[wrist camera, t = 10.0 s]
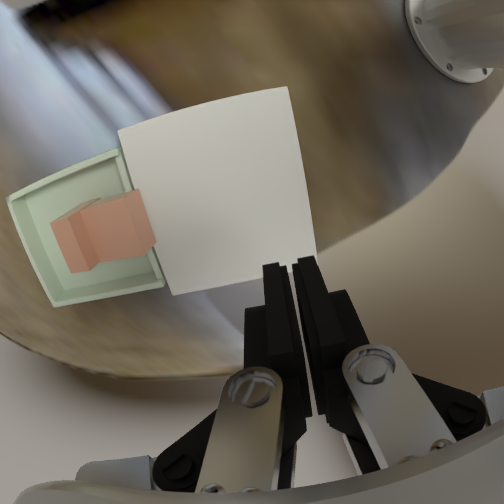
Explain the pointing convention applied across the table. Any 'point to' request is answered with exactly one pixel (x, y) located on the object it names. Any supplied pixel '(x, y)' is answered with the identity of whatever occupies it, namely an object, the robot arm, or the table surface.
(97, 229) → the tile
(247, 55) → the table surface
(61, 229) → the tile
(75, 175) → the tray
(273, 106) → the board
